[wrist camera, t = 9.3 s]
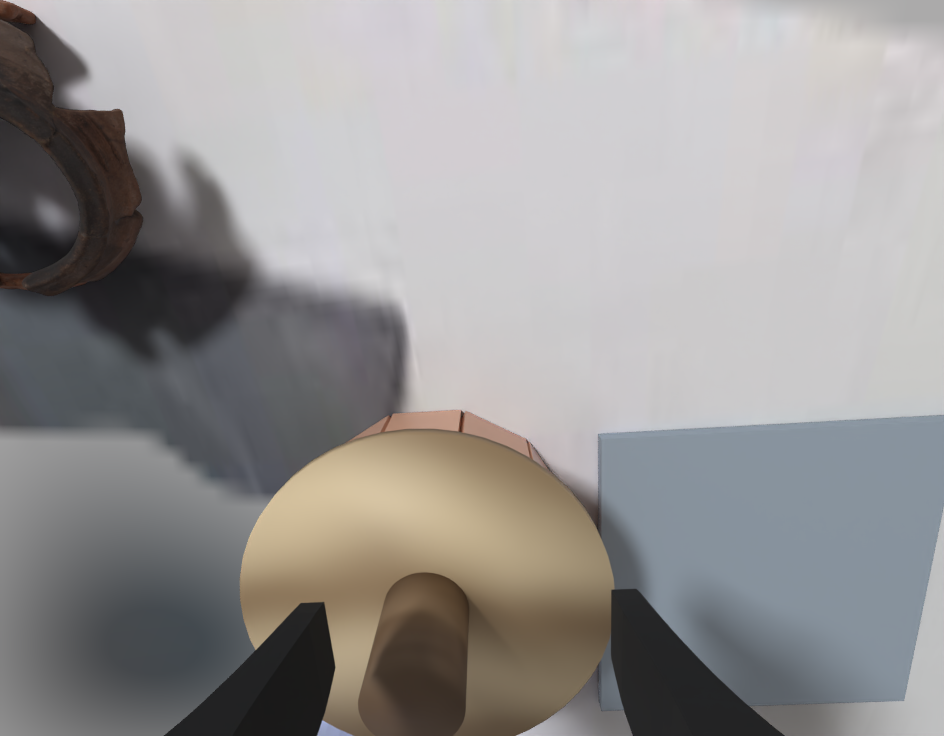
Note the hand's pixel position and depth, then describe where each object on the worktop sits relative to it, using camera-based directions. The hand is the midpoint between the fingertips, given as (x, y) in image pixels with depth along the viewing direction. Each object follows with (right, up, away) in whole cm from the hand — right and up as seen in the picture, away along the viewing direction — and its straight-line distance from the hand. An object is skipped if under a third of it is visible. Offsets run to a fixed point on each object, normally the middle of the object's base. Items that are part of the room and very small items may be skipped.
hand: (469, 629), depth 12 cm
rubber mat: (+14, -3, +11) cm, 18 cm away
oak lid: (-2, -2, +7) cm, 7 cm away
